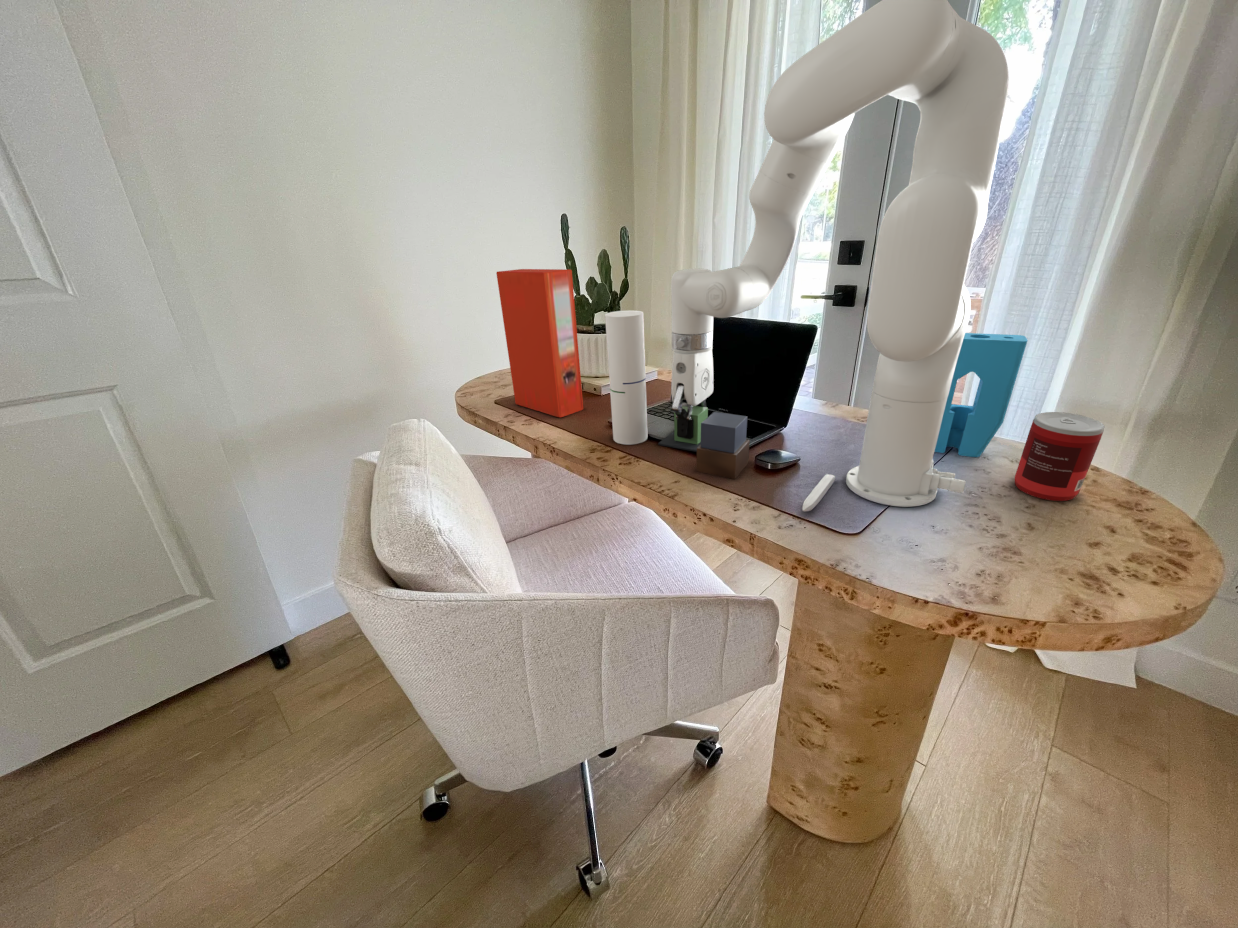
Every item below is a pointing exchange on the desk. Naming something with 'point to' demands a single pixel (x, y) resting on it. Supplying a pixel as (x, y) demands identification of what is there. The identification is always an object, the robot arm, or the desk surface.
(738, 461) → the base block
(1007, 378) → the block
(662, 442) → the coaster
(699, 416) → the green block
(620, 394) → the cylindrical container
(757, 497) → the desk surface
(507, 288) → the file binder
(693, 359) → the robot arm
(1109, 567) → the desk surface
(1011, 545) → the desk surface
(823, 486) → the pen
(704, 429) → the mid block
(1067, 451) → the canned food
